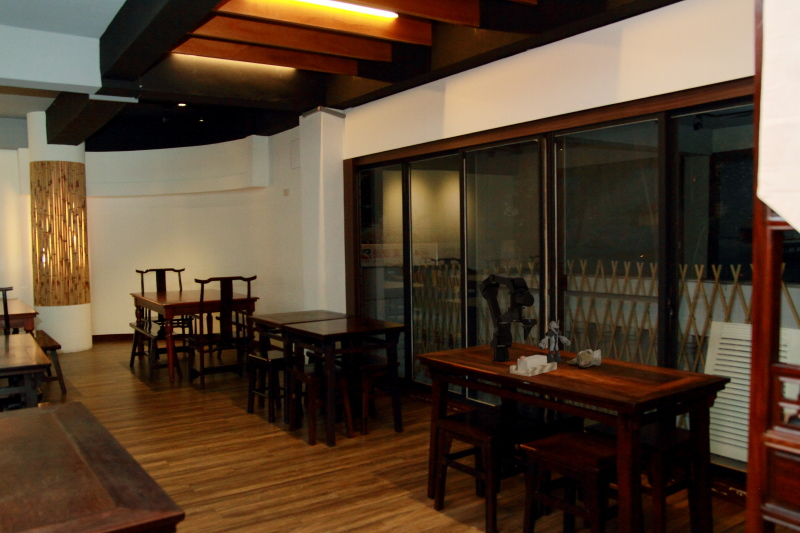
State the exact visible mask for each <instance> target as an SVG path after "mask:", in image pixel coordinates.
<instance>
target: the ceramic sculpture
mask: <svg viewBox="0 0 800 533" xmlns="http://www.w3.org/2000/svg"><path fill="white" fill-rule="evenodd" d="M566 363H568V364H570V365H574V366H575V365H578V366H579V367H581V368H589V367H591V366H595V367H599V366H601V363H602V351H601V349H600V348H599V349H597V350H594V351H593V350H592V349H591V348H588V347H586V348H585V350H581V351H579V352H578V353H577V355H576V357H575V358H573V359H571V360H566Z"/></svg>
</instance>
